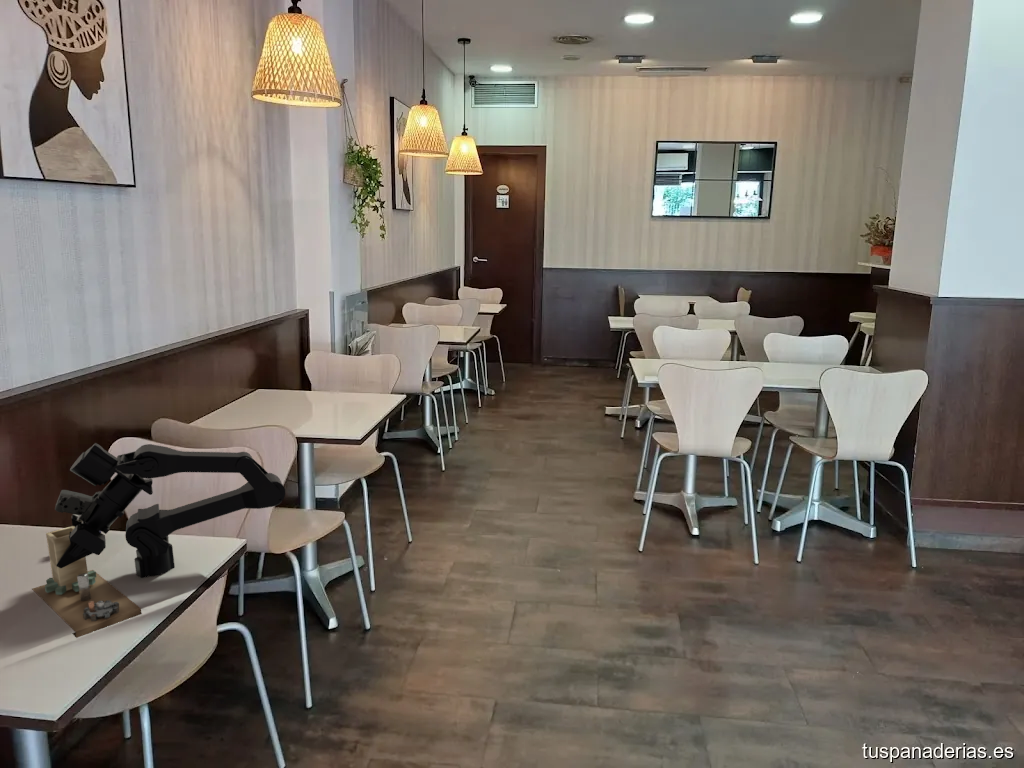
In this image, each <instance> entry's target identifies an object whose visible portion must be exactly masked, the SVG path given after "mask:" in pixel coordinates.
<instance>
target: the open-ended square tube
mask: <svg viewBox="0 0 1024 768" xmlns="http://www.w3.org/2000/svg"><path fill="white" fill-rule="evenodd" d="M74 528H75V526H72V525H71V526H68V527H64V528H61V529H57V530H54V531H48V532H45V535H46V543H47V549H48V556H49V562H50V569H51V577H49V578H47V579H46V580H45V581H46V584H47V585H46V584H44V585H45V591H46V592H47V593H48V592H52V591H55V592H56V595H62V594H63V593H64V592H66V591H67V590H70V589H73V590H74V591H75V592H77V591H79V586H78V579H77V576H78V575H79V574H82V573H87V574H88V579H89V585H93V584H94V583H95V582H96V581H95V578H96V573H97V572H96V571H95V570H94V569H92V570H93V571H90V570H88V566H87V564H88V563H87V559H86V557H87V556H86V557H84V558H81V559H79V560H77V561H75V562H73V563H71V564H69V565H67V566H65V567H63V568H59V567H57V563H58V561H59V560H60V558H61V557H62V555H63V553H64V552H65V550H66V549H67V547H68V546H69V544H70V539H69V533H70V532H72V531H73V529H74ZM88 571H89V572H88Z"/></svg>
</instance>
